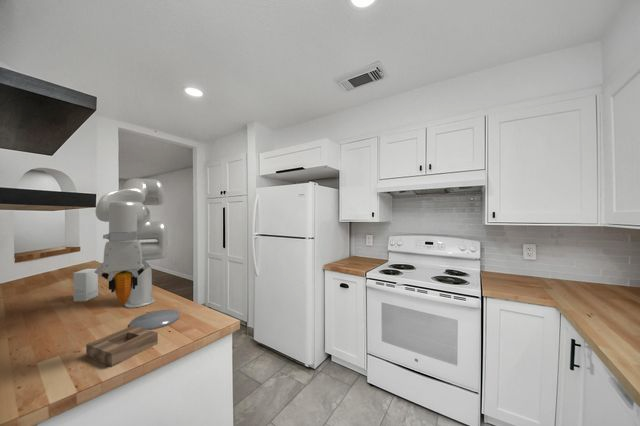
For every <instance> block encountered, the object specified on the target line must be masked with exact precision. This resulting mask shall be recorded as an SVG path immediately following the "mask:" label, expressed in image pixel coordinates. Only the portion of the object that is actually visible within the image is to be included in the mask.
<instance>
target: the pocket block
mask: <svg viewBox="0 0 640 426" xmlns="http://www.w3.org/2000/svg"><path fill="white" fill-rule="evenodd" d="M158 332H159V331H158ZM158 332H157V331H155V330H154V331H153V330H147V329H144V328H140V327H137V326H131V327H130V326H128V327H126V328H124V329H121V330H118V331H116V332H113V333H111V334H109V335H105V336H104V337H101V338H99V339H97V340H93V341H91V342H89V343H88V342H87V343H86V347H85V348H86V350H85V353H86V354H85V356H86V357H87V358H89V359H92V360H94V361H96V362H99V363H102V364H104V365H106V366H110V367H111V368H112V367H115V366H116V365H118V364H120V363H122V362H124V361H126V360H128V359H131V358H132V357H134V356H136V355H138V354H140V353H142V352H143V351H146V350H148V349H149V348H152V347H153V346H156V345H158V341H159V339H158V336H159V334H158Z"/></svg>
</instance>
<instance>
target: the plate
mask: <svg viewBox="0 0 640 426" xmlns="http://www.w3.org/2000/svg"><path fill="white" fill-rule="evenodd" d="M180 314H181V313H180V311H178V310H176V309H159V310H154V311H150V312H147V313H144V314H141V315H138V316H137V317H134V318H133V319H132V320H131V321H130V322H129V327H131V326H137V327H140V328H144V329H147V330H151V331H153V330H156V329H160V328H164V327H167V326H169V325H171V324H173V323H175V322H176V321H177V320H179V318H180V317H181V316H180Z"/></svg>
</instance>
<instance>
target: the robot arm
mask: <svg viewBox="0 0 640 426" xmlns="http://www.w3.org/2000/svg"><path fill="white" fill-rule="evenodd" d="M165 198H166V197H165V189H164V186H163V183H162V182H161V181H160V180H158V179H153V178H140V177H139V178H137V177H136V178H135V177H133V178H130V179H127V180H126V181H125V182H124V184H123V186H122V187H121V189H118V190H116V191H115V190H114V191H111V192H108V193H105V194H104V195H102V196H101V197H100V199H98V202H97V204H96V207H95V216H96V219H98V220H99V221H100V222H105V223H106V222H107V223H108V233H107V234H103V235H102V239H103V240H104V239H106V240H108V241H106V242H105V245H104V250H103V262H101V264H100V265H99V266H98V267H97V268H95V269H96V270H95V273H96V274H98V276H100V277H102V278H103V279H105V280H107V281H108V290H111V291H110V293H112V294H113V293H115V285H114V276H115V274H116V273H119V272H121V271H129V272H132V274H133V277H132V289H131V293H130V296H129V298H128V300H127V302H126V303H125V304H124V306H125V308H132V309H134V308H140V307H145V306H148V305H152V304H153V303H155V302H156V297H153V295H152V290H153V289H152V288H153V287H152V286H153V277H152V272H153V271H152V266H151V265H150V264H149V263H148V262H147V261H155V260H163V259H165V258H167V256H168V252H169V250H168V248H169V247H168V240H169V239H168V226H167V224H166V223H165V222H164V221H163V220H162V221H160V220H158V221H157V220H155V221H151V211H150V209H148V208H147V206H161V205H163V204H164V202H165ZM143 240H146V241H143ZM147 240H156V241H147Z"/></svg>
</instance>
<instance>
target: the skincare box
mask: <svg viewBox="0 0 640 426" xmlns="http://www.w3.org/2000/svg"><path fill="white" fill-rule="evenodd" d="M96 269H97V268H85V269H81V270H79V271H75V272H73V302H87V301H89V300H92V299H94V298H96V297H98V296H99V286H98V285H99V275H98V274H96V273H95V270H96Z"/></svg>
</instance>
